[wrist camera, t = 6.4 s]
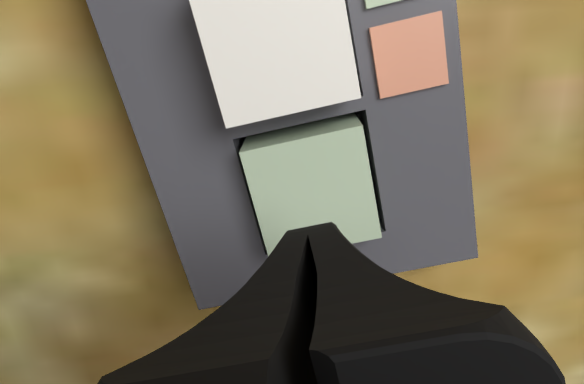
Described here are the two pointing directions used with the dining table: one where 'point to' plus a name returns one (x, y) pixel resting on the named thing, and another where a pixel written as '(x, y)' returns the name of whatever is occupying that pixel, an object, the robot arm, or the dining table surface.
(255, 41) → the cream key
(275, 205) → the sage key
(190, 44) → the keypad
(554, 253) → the dining table surface
